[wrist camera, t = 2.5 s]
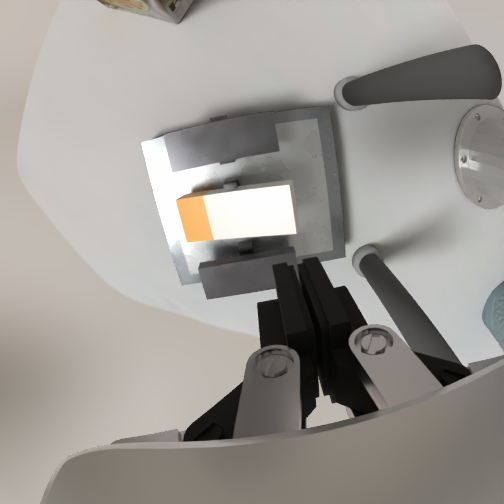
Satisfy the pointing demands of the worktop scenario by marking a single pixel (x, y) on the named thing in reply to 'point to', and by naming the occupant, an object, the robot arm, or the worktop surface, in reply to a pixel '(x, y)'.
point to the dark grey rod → (401, 306)
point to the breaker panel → (247, 173)
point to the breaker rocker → (239, 212)
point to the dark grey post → (426, 80)
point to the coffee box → (152, 8)
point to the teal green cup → (495, 314)
